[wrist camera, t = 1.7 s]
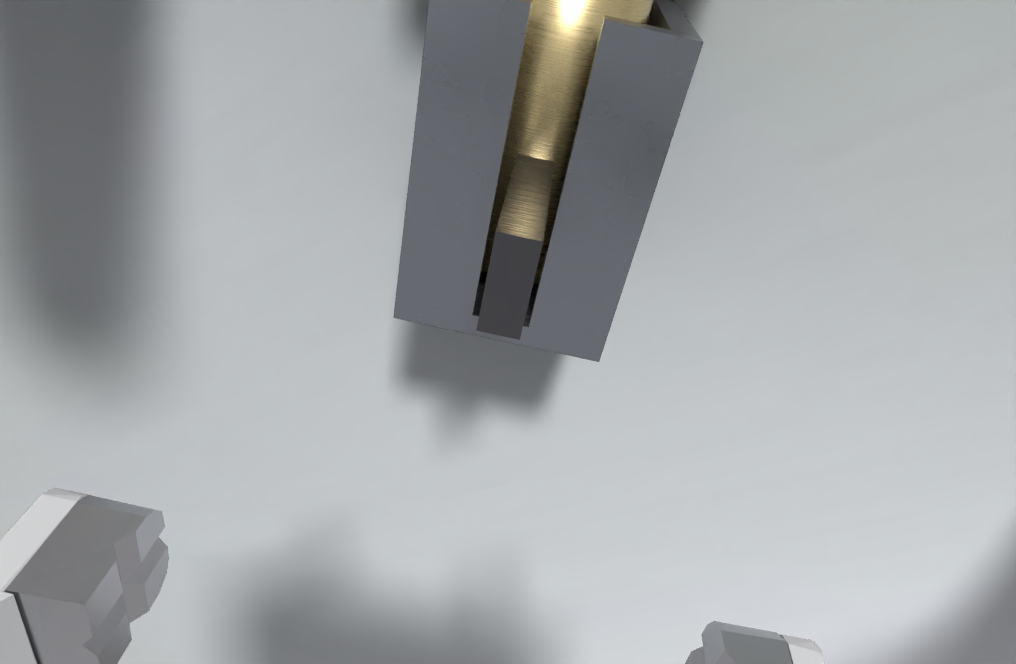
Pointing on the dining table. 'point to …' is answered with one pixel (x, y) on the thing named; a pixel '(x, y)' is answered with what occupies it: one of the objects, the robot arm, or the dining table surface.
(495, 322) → the tube
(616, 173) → the sleeve
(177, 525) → the dining table surface
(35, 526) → the robot arm
